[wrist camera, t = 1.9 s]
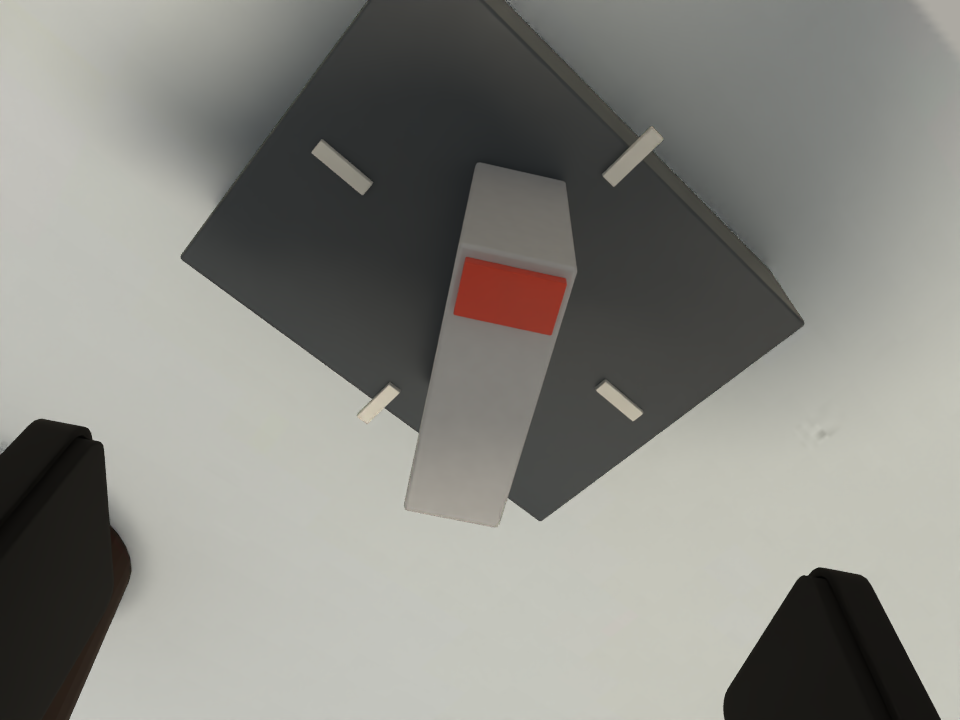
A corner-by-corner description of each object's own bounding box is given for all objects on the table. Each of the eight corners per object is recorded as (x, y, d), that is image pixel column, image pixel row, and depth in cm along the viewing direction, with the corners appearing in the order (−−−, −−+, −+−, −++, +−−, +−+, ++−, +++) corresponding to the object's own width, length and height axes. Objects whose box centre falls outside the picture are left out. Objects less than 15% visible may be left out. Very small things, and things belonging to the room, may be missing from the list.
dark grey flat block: (790, 257, 20) (831, 312, 17) (526, 467, 24) (526, 538, 21) (452, -95, 16) (436, -96, 13) (211, 229, 20) (162, 278, 18)
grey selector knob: (504, 402, 19) (497, 538, 15) (428, 386, 19) (400, 519, 15) (566, 180, 16) (579, 275, 12) (476, 160, 16) (457, 248, 12)
